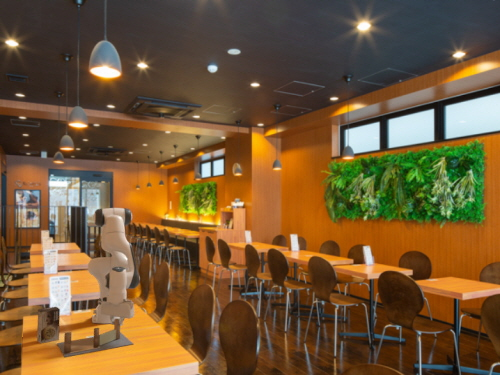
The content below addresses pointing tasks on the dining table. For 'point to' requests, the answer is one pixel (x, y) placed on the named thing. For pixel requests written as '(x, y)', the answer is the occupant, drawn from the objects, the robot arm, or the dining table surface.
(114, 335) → the gate
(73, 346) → the fence fixed
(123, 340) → the board
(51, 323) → the coffee box
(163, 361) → the dining table surface
